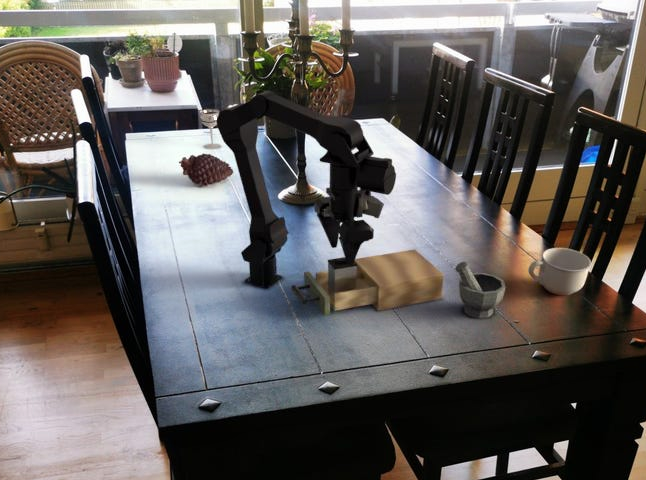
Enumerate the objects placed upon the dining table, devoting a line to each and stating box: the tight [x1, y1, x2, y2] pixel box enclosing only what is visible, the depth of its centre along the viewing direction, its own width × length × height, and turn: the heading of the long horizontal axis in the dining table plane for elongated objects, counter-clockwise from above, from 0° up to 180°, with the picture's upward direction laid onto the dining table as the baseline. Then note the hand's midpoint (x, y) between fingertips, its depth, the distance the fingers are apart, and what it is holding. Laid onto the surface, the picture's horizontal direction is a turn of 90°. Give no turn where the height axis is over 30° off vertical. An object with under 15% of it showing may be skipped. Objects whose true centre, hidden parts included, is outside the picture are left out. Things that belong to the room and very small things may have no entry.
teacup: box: [527, 247, 592, 296], centre depth 166 cm, size 14×11×8 cm
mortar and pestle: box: [455, 261, 506, 319], centre depth 156 cm, size 11×9×12 cm
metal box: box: [327, 256, 357, 296], centre depth 159 cm, size 5×4×8 cm
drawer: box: [290, 266, 378, 316], centre depth 160 cm, size 19×13×4 cm
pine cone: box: [178, 153, 234, 187], centre depth 222 cm, size 18×10×10 cm
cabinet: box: [355, 249, 445, 312], centre depth 165 cm, size 16×14×6 cm
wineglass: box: [199, 108, 221, 150], centre depth 253 cm, size 7×7×12 cm
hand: (342, 255), depth 156 cm, fingers open, 9 cm apart
